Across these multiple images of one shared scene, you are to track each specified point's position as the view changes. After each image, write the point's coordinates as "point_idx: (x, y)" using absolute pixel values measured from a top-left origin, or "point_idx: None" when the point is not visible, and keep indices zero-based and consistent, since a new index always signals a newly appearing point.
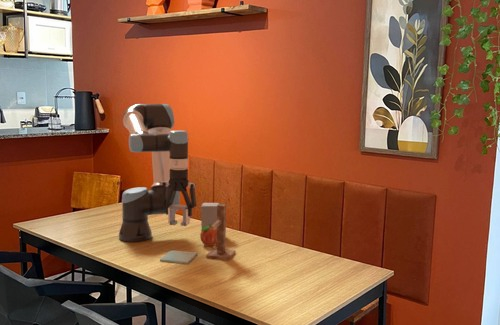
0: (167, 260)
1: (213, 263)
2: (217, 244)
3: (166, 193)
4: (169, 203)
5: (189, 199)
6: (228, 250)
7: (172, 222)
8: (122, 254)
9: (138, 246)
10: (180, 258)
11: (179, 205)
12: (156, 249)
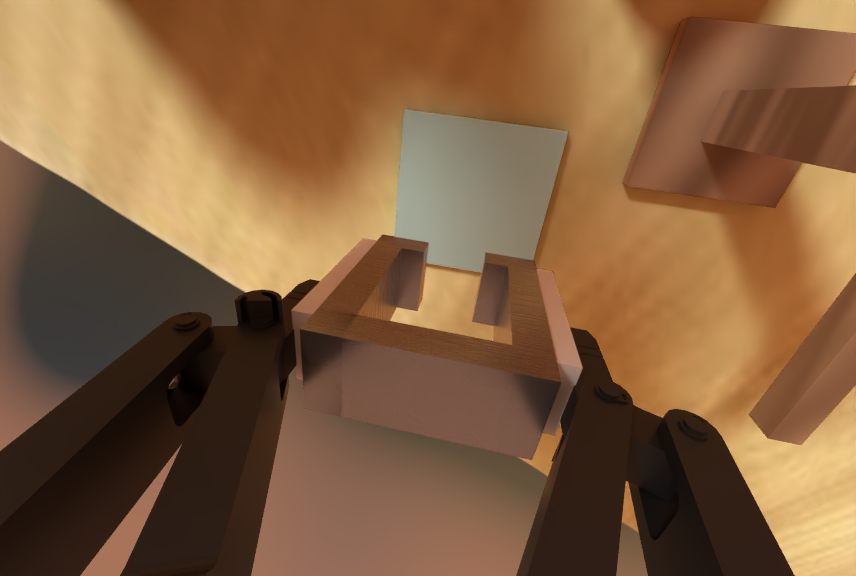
0: (429, 262)
1: (659, 258)
2: (740, 149)
3: (74, 518)
4: (281, 415)
5: (615, 510)
6: (808, 59)
7: (398, 305)
8: (203, 186)
9: (196, 35)
10: (485, 237)
11: (425, 388)
12: (313, 74)
